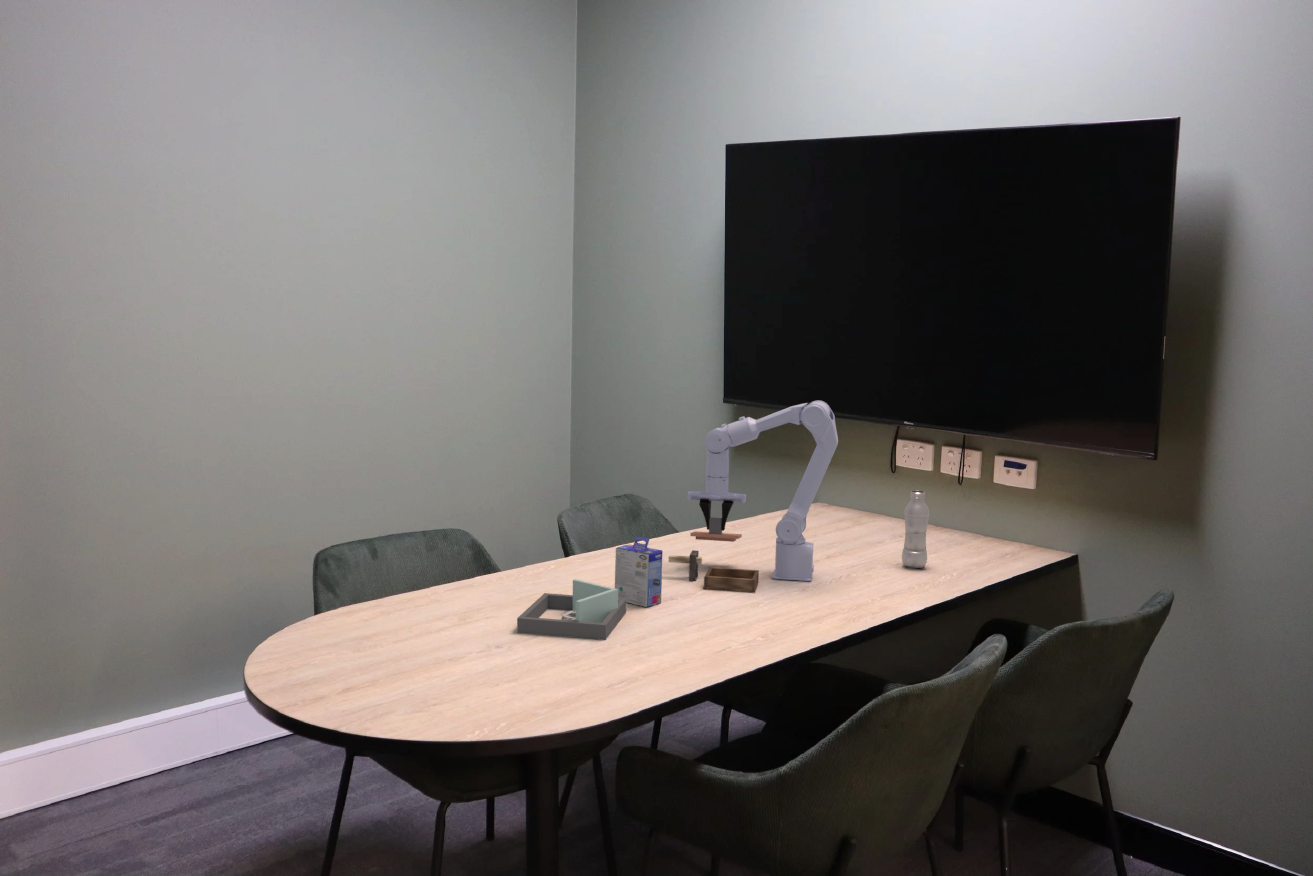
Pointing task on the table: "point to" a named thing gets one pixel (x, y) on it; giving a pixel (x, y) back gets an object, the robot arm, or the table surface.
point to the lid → (715, 532)
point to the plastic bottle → (915, 531)
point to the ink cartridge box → (639, 573)
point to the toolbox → (725, 577)
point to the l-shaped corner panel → (591, 602)
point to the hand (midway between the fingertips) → (715, 529)
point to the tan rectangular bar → (683, 559)
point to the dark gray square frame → (567, 628)
